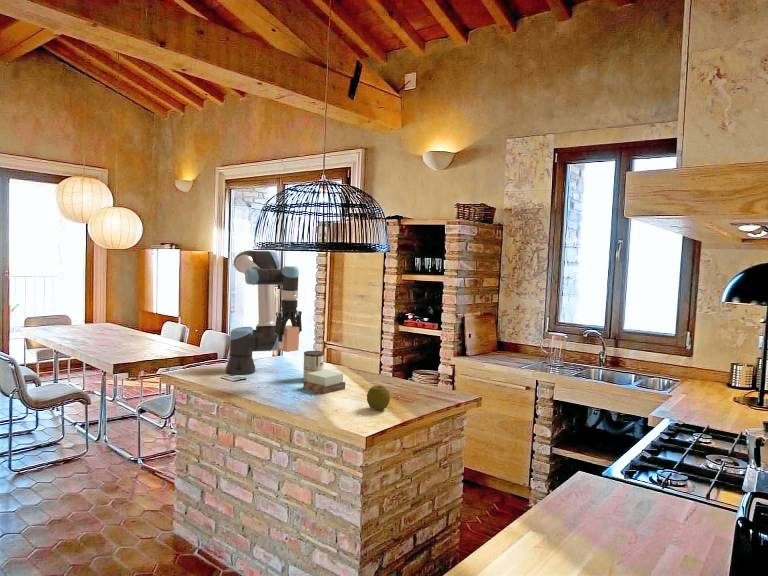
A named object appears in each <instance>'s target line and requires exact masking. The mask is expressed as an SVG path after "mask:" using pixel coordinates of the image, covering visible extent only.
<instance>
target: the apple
mask: <svg viewBox="0 0 768 576" xmlns="http://www.w3.org/2000/svg"><path fill="white" fill-rule="evenodd" d="M390 400H391V395H390V391H389V390H388V388H386V387H385V386H383V385H373V386H372V387H371V388H369V389H368V391H367V393H366V401H367V403H368V406H369V408H370V409H373V411H383V410H385V409H386V408H387V407H388V406H389V404H390Z"/></svg>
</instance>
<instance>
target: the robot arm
mask: <svg viewBox="0 0 768 576" xmlns="http://www.w3.org/2000/svg"><path fill="white" fill-rule="evenodd" d="M233 267H234V268H235V270H236V271H238V272H239V273H243V275H244V281H245V283H246V285H253V286H256V285H257V299H258V300H257V301H258V302H257V305H258V306H257V307H258V309H257V310H258V312H257V313H258V323H257V324H256V325H255V329H254V327H252V326H239V327H236V328H233V329H231V330H230V333H229V358H228V360H227V364H226V367H225V373H226V374H229V375H235V376H236V375H240V376H241V375H251V374H254V373H255V372H256V366H255V365H256V364H255V361H254V358H253V353H254V352H272V351H274V352H275V351H278V350H277V344H278V341H279V348H280V349H284V335H283V332H284V328H285V326H287V322H289V321H290V323H291V326H294V327H299V334H300V333H301V332H302V331H303V330H302V329H303V327H302V310H298V309H297V308H298V297H299V296H298V295H299V276H300V275H299V267H298V266H287V265H285V266H283V267H282V268H280V267H281V262H280V258H279V255H278V253H277V252H275V251H272V250H271V251H269V250H244V251H241V252H240V253H237V255H236V256H235V257H234V259H233ZM280 285H281V298H280V299H281V300H280V301H281V302H280V306H281V309H280V311H279V312H275V311H276V310H275V307H276V306H275V286H280Z"/></svg>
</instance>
